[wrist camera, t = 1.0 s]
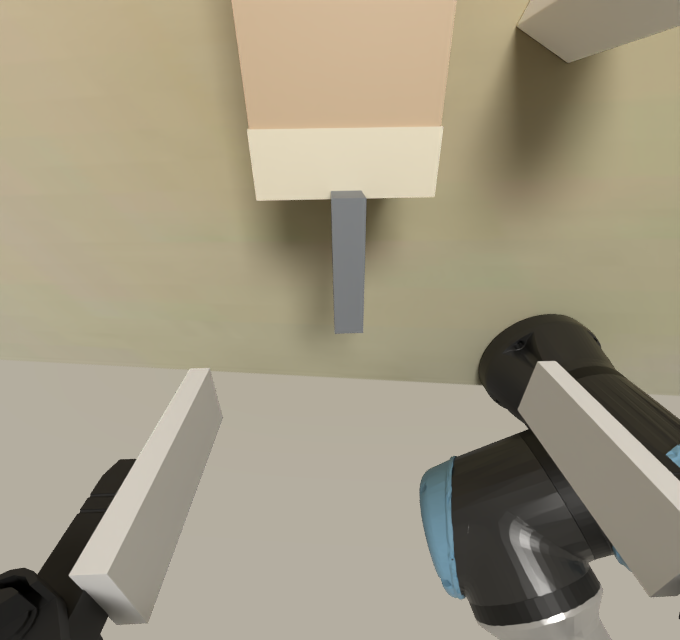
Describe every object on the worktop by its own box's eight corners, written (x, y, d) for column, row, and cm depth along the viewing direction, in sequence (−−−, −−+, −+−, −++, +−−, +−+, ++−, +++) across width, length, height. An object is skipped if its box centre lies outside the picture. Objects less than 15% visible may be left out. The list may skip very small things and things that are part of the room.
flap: (409, 290, 28) (431, 330, 22) (278, 293, 28) (265, 335, 22) (483, -419, 13) (627, -941, 7) (190, -426, 12) (58, -973, 6)
